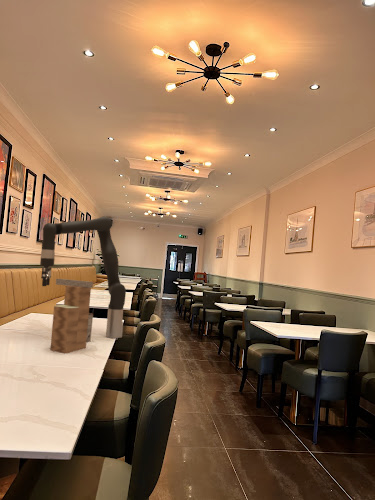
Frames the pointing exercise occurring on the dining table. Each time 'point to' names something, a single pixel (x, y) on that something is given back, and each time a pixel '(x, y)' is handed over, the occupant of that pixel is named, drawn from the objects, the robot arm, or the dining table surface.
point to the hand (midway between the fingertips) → (45, 285)
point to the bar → (74, 283)
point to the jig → (71, 320)
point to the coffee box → (89, 327)
